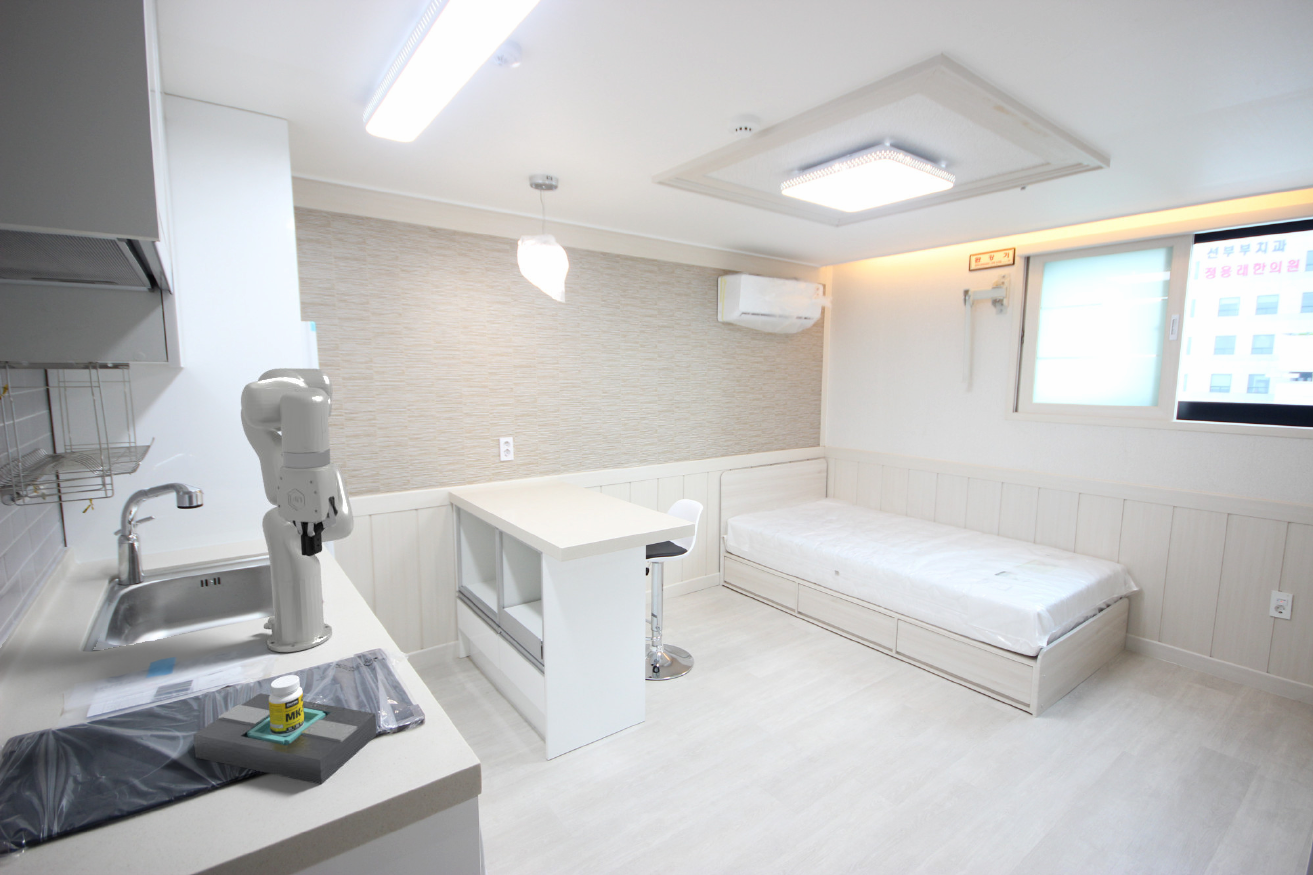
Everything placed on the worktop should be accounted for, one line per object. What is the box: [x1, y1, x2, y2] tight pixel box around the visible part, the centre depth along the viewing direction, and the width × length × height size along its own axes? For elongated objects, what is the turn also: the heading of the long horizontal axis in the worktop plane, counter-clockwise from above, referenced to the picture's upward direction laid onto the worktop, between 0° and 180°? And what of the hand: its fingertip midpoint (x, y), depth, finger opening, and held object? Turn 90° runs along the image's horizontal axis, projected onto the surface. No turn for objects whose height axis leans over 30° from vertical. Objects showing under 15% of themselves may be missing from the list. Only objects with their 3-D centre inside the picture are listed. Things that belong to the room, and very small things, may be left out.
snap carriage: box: [247, 708, 325, 745], centre depth 96 cm, size 8×8×3 cm
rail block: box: [193, 693, 377, 785], centre depth 96 cm, size 24×12×4 cm, turn 77°
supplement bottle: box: [269, 674, 304, 737], centre depth 96 cm, size 5×5×8 cm
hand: (312, 553), depth 110 cm, fingers closed
